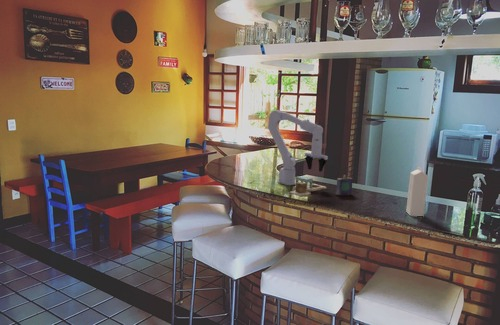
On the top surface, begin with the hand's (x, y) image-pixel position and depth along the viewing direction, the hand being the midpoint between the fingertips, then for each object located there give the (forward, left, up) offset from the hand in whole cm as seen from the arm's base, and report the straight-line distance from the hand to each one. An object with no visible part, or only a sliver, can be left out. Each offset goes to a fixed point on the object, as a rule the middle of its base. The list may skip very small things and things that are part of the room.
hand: (315, 170), depth 227 cm
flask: (+22, -1, -10) cm, 24 cm away
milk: (+63, -2, -10) cm, 64 cm away
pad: (+8, -20, -9) cm, 23 cm away
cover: (+3, -12, -8) cm, 15 cm away
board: (+3, -7, -9) cm, 12 cm away
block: (+8, -19, -9) cm, 23 cm away
